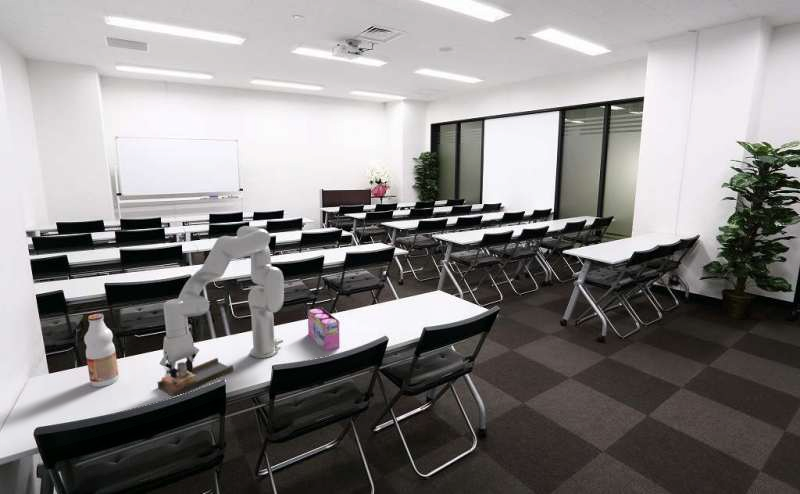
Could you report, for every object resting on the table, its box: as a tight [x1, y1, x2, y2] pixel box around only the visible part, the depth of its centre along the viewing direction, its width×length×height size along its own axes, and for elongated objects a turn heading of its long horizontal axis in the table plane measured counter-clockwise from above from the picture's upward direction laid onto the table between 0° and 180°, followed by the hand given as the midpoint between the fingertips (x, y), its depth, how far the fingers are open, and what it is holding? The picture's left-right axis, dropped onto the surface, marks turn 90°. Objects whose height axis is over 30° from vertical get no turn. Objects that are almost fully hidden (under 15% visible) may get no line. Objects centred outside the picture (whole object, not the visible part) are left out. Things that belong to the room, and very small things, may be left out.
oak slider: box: [169, 362, 196, 387], centre depth 164 cm, size 6×8×8 cm
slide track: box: [157, 357, 234, 398], centre depth 169 cm, size 25×12×4 cm, turn 145°
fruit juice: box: [83, 313, 120, 388], centre depth 164 cm, size 9×9×28 cm
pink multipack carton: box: [307, 306, 341, 352], centre depth 206 cm, size 24×8×14 cm, turn 33°
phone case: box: [167, 358, 187, 375], centre depth 182 cm, size 9×2×16 cm
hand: (181, 373), depth 164 cm, fingers open, 5 cm apart
